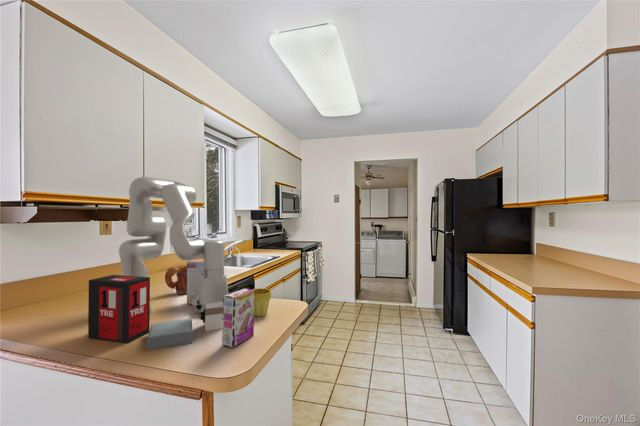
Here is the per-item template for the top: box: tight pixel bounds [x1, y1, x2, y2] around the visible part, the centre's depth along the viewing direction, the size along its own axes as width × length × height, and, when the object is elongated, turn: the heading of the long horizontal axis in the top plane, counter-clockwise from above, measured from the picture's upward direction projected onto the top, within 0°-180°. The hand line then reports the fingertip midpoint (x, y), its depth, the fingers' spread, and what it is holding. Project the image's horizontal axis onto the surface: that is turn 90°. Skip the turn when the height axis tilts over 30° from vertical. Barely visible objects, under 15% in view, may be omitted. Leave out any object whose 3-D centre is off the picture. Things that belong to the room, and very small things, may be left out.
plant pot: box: [251, 287, 272, 317], centre depth 123 cm, size 10×10×10 cm
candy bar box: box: [221, 288, 255, 349], centre depth 97 cm, size 11×5×16 cm, turn 157°
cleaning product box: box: [87, 274, 151, 344], centre depth 100 cm, size 16×9×20 cm, turn 77°
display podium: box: [146, 318, 193, 351], centre depth 98 cm, size 13×13×4 cm
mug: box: [164, 265, 187, 295], centre depth 151 cm, size 15×8×15 cm, turn 144°
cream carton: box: [204, 302, 223, 332], centre depth 108 cm, size 6×7×10 cm
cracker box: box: [186, 259, 203, 306], centre depth 135 cm, size 14×6×21 cm, turn 84°
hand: (213, 319), depth 108 cm, fingers closed on cream carton, 6 cm apart
